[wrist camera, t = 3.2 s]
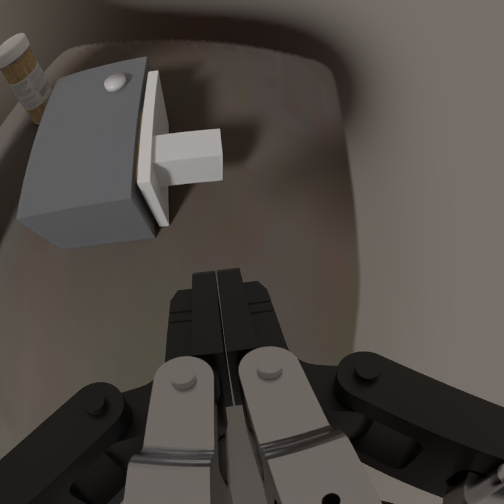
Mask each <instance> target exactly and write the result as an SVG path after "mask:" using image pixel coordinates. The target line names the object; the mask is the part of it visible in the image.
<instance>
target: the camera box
mask: <svg viewBox="0 0 504 504" xmlns="http://www.w3.org/2000/svg"><path fill="white" fill-rule="evenodd" d="M148 72H150V67H149V62H148V57H147V56H146V57H140V58H135V59H130V60H125V61H120V62H116V63H111V64H107V65H103V66H99V67H95V68H91V69H88V70H84V71H81V72H77V73H74V74H71V75H68V76H64V77H61V78H58V79H57V81H56V83H55V86H54V88H53V90H52V93H51V95H50V98H49V100H48V103H47V105H46V108H45V111H44V113H43V116H42V119H41V122H40V125H39V128H38V131H37V134H36V137H35V140H34V143H33V147H32V150H31V154H30V157H29V161H28V165H27V169H26V173H25V177H24V181H23V186H22V190H21V195H20V200H19V206H18V211H17V217H16V219H17V220H18V221H19V222H21V223H22V224H24V225H25V226H27V227H28V228H29V229H31V230H32V231H34V232H35V233H37V234H38V235H40V236H41V237H43V238H44V239H46V240H47V241H49V242H50V243H52V244H53V245H55V246H56V247H58V248H59V249H61V250H64V249H72V248H79V247H87V246H95V245H103V244H111V243H119V242H127V241H136V240H144V239H153V238H155V217H154V215H153V213H152V211H151V210H150V208H149V206H148V204H147V202H146V200H145V198H144V196H143V194H142V192H141V190H140V188H139V186H138V184H137V175H138V159H139V146H140V134H141V124H142V115H143V107H144V99H145V92H146V85H147V78H148Z"/></svg>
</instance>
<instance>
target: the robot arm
mask: <svg viewBox="0 0 504 504" xmlns="http://www.w3.org/2000/svg"><path fill="white" fill-rule="evenodd" d="M217 276H218V285H219V294H220V303H221V311H222V319H221V312H220V305H219V297H218V290H217V282H216V275H215V271H208V272H199V273H193V274H192V289H186V290H178V291H177V293H176V294H175V295H174V297H173V298H172V300H171V302H170V311H169V313H170V315H169V321H168V322H169V325H168V332H167V343H166V356H165V363H164V364H163V365H162V366H161V367H160V368H159V369H158V370H157V372H156V374H155V377H154V380H153V381H152V382H150V383H148V384H147V385H144V386H142V387H139V388H136V389H133V390H129V391H126V392H123V393H121V392H120V391H119V389H117V388H116V387H115V386H113V385H111V384H109V383H105V382H98V383H92V384H89V385H87V386H85V387H83V388H82V389H81V390H79V391H78V392H77V393H76V394H75V395H74V396H73V397H71V398H70V399H69V400H68V401H67V402H66V403H65V404H63V405H62V406H61V407H60V408H59V409H58V410H57V411H55V412H54V413H53V414H52V415H51V416H50V417H49V418H47V419H46V420H45V421H44V422H43V423H42V424H41V425H39V426H38V427H37V428H36V429H35V430H34V431H33V432H31V433H30V434H29V435H28V436H27V437H26V438H25V439H24V440H22V441H21V442H20V443H19V444H18V445H17V446H16V447H15V448H13V449H12V450H11V451H10V452H9V453H8V454H7V455H6V456H4V457H3V458H2V459H1V460H0V504H120V503H121V502H122V501H123V500H124V503H123V504H233V501H232V495H231V489H230V475H229V456H228V435H227V425H228V423H227V414H226V407H229V406H233V402H232V395H231V388H230V381H229V374H228V367H227V359H226V351H227V358H228V364H229V370H230V377H231V383H232V389H233V394H234V400H235V406H236V405H243V411H244V416H245V422H246V429H247V433H248V436H249V440H250V443H251V447H252V450H253V454H254V457H255V460H256V464H257V467H258V471H259V474H260V477H261V480H262V484H263V488H264V492H265V496H266V500H267V503H268V504H393V503H390V502H385V501H380V499H379V497H378V495H377V493H376V491H375V489H374V487H373V485H372V483H371V481H370V479H369V477H368V475H367V473H366V471H365V470H364V467H363V466H362V464H361V462H362V463H364V464H366V465H368V466H370V467H372V468H374V469H376V470H378V471H381V472H383V473H385V474H387V475H389V476H391V477H393V478H396V479H398V480H400V481H402V482H404V483H407V484H409V485H411V486H414V487H416V488H419V489H421V490H424V491H426V492H429V493H431V494H434V495H437V496H439V497H442V498H443V504H504V407H502V406H499V405H496V404H494V403H491V402H489V401H486V400H484V399H481V398H479V397H476V396H473V395H471V394H469V393H466V392H464V391H461V390H459V389H456V388H454V387H451V386H449V385H447V384H444V383H442V382H440V381H437V380H435V379H433V378H430V377H428V376H426V375H423V374H421V373H419V372H416V371H414V370H412V369H410V368H407V367H405V366H403V365H401V364H398V363H396V362H394V361H392V360H389V359H387V358H385V357H383V356H380V355H378V354H376V353H372V352H355V353H352V354H350V355H347V356H346V357H345V358H343V359H342V360H341V362H340V363H339V365H338V366H326V365H313V364H309V363H306V362H303V361H301V360H299V359H297V358H296V356H295V355H294V354H292V353H291V352H290V351H289V349H288V347H287V345H286V342H285V339H284V336H283V333H282V331H281V328H280V325H279V322H278V319H277V316H276V313H275V312H274V308H273V305H272V303H271V299H270V296H269V293H268V290H267V289H266V288H265V287H264V286H263V285H261V284H260V283H259V282H258V281H254V282H246V283H243V281H242V277H241V273H240V269H239V268H233V269H224V270H217ZM222 320H223V327H222ZM223 328H224V335H223ZM224 336H225V344H226V351H225V344H224Z"/></svg>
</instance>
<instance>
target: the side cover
mask: <svg viewBox="0 0 504 504" xmlns="http://www.w3.org/2000/svg"><path fill="white" fill-rule="evenodd" d="M222 172H223V153H222V144H221V134H220V129H210V130H199V131H189V132H180V133H171V134H169V123H168V118H167V113H166V108H165V103H164V98H163V93H162V88H161V82H160V77H159V71H158V70H157V71H151V72H148V78H147V85H146V92H145V99H144V107H143V115H142V124H141V134H140V146H139V159H138V175H137V184H138V186H139V188H140V190H141V192H142V194H143V196H144V198H145V200H146V202H147V204H148V206H149V208H150V210H151V211H152V213H153V215H154V217H155V219H156V221H157V223H158V225H159V227H162V226H169V203H168V186H171V185H180V184H189V183H198V182H208V181H219V180H222Z"/></svg>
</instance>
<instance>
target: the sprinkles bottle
mask: <svg viewBox="0 0 504 504" xmlns="http://www.w3.org/2000/svg"><path fill="white" fill-rule="evenodd" d="M0 70H1V71H2V73H3V74H4V76H5V78H6V80H7V81H8V84H9V86H10V87H11V89H12V90H13V92H14V93H15V95H16V97H17V98H18V100H19V101H20V103H21V104H22V106H23V107H24V109H26V111H27V112H28V114H29V115H30V117H31V118H32V120H33V122H34V123H35V124H38V125H40V122H41V119H42V116H43V113H44V111H45V108H46V105H47V103H48V100H49V98H50V95H51V93H52V90H51V87H50V85H49V83H48V81H47V79H46V77H45V75H44V73H43V71H42V69H41V67H40V66H39V64H38V62H37V61H36V59H35V57H34V55H33V53H32V51H31V49H30V45H29V41H28V39H27V37H26V35H25V34H24V33H19V34H16V35H14V36H13V37H11V38H10V39H8V40H7V41H5V42H4V43H3V44H2V45H1V46H0Z"/></svg>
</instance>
